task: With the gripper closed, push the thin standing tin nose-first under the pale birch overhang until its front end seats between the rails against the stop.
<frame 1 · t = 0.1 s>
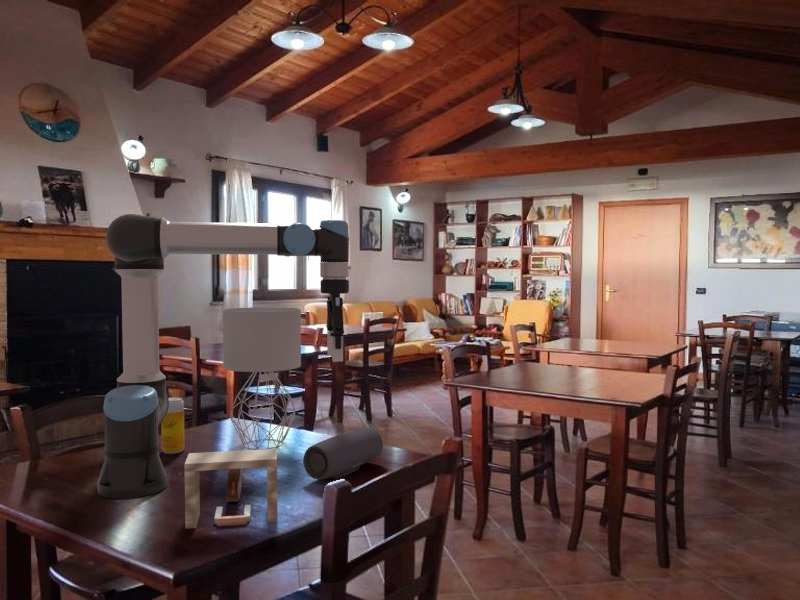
hand: (334, 358, 178), 28 cm above the table, fingers open, 13 cm apart
seat: (232, 518, 138), on the table
table lamp: (263, 445, 197), on the table
tin: (235, 497, 152), on the table
beer can: (173, 452, 189), on the table
overhang: (232, 518, 138), on the table
bluetooth speaker: (344, 473, 170), on the table
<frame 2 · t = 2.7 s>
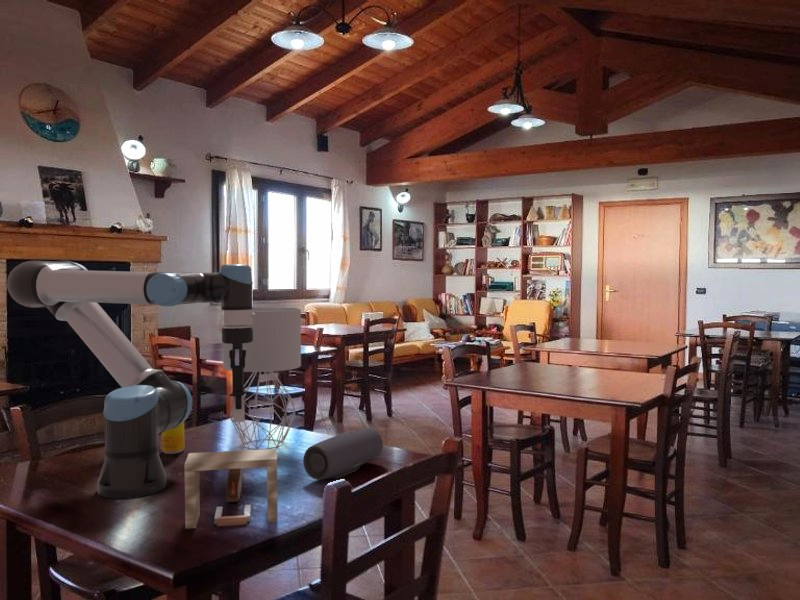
hand: (238, 421, 166), 14 cm above the table, fingers closed
nothing on the table moved.
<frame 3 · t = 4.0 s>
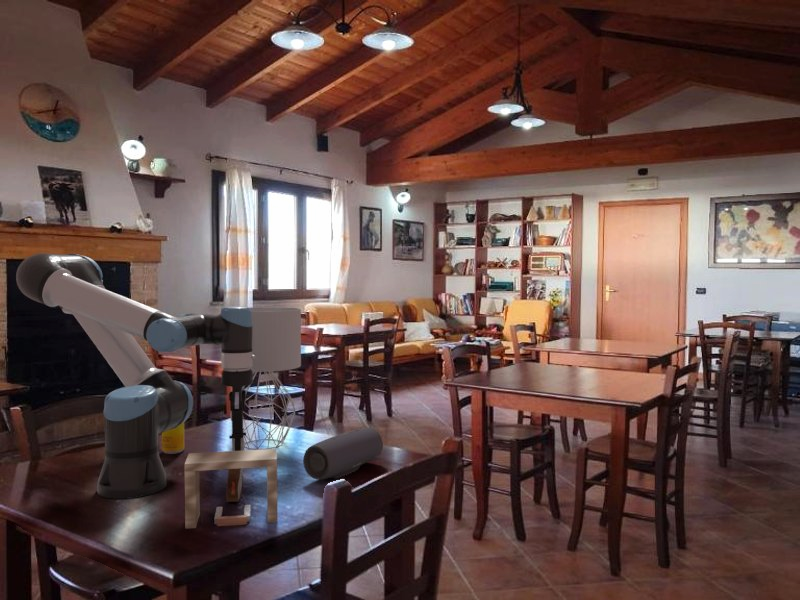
hand: (238, 463, 166), 3 cm above the table, fingers closed
nothing on the table moved.
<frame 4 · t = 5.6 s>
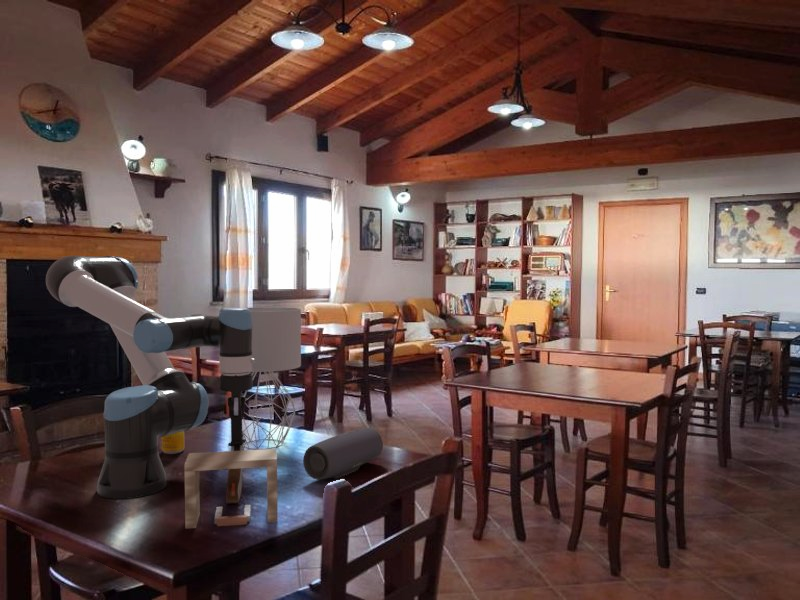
hand: (237, 471, 159), 3 cm above the table, fingers closed
tin: (235, 498, 151), on the table, touching gripper
everything else where it was.
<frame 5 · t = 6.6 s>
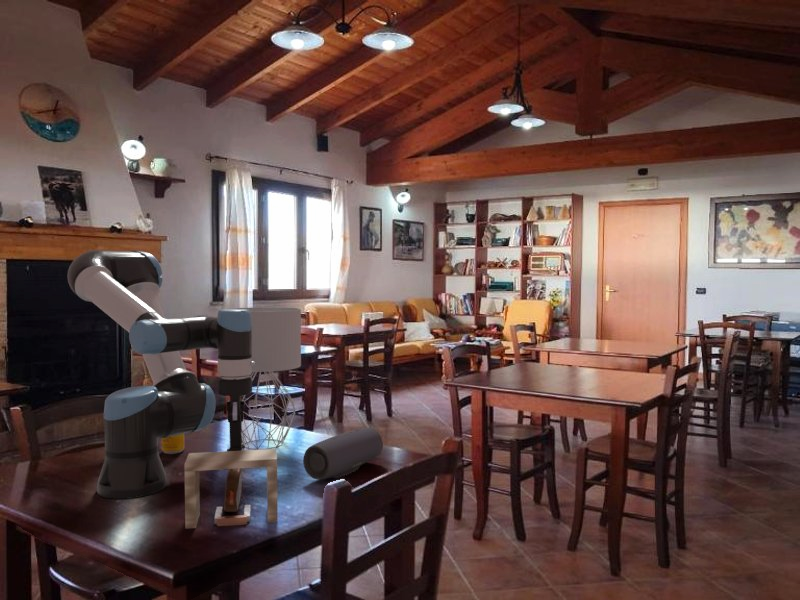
hand: (236, 478, 154), 3 cm above the table, fingers closed
tin: (234, 506, 146), on the table, touching gripper
everything else where it was.
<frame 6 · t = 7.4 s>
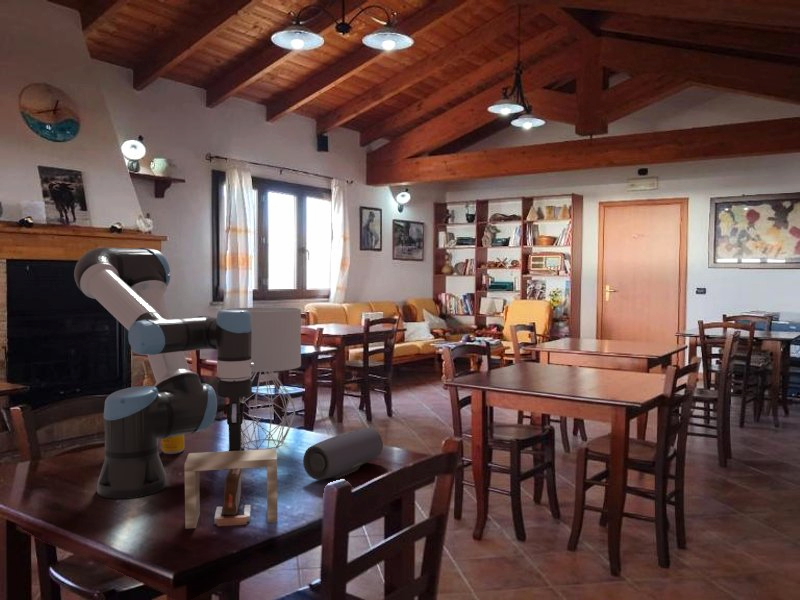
hand: (235, 481, 152), 3 cm above the table, fingers closed
tin: (233, 509, 144), on the table, touching gripper
everything else where it was.
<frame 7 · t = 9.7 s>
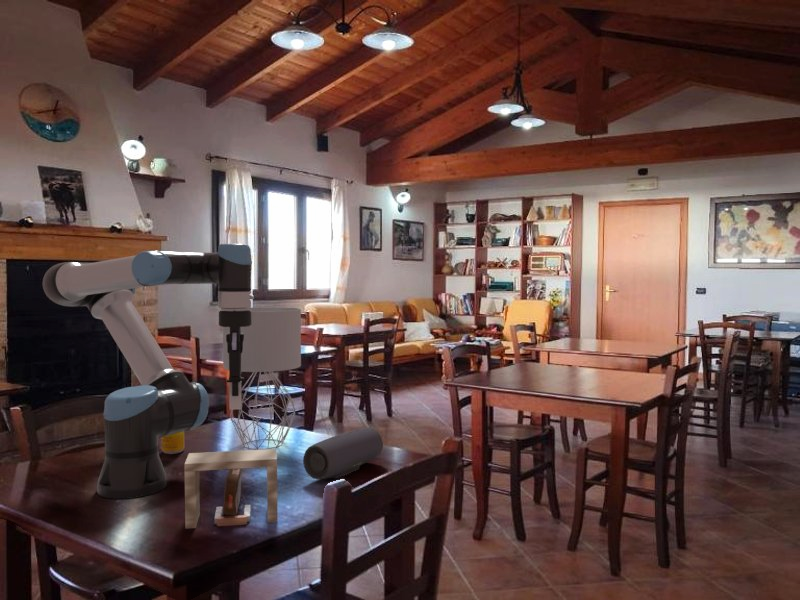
hand: (235, 408, 158), 19 cm above the table, fingers closed
tin: (233, 510, 144), on the table
everything else where it was.
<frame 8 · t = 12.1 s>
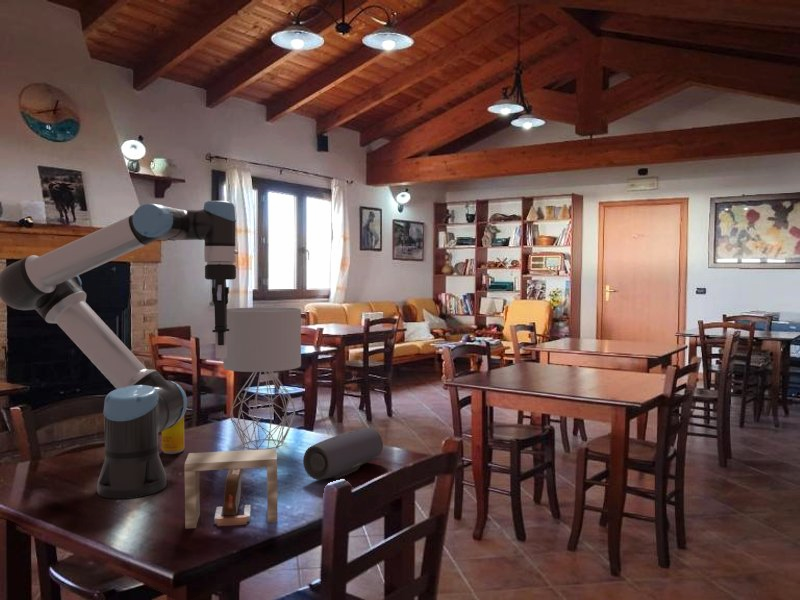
hand: (221, 357, 167), 29 cm above the table, fingers closed
nothing on the table moved.
at the end: tin 1.3 cm from the target spot, on the table; tin tilted 0°; tin moved 8.5 cm from its start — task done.
